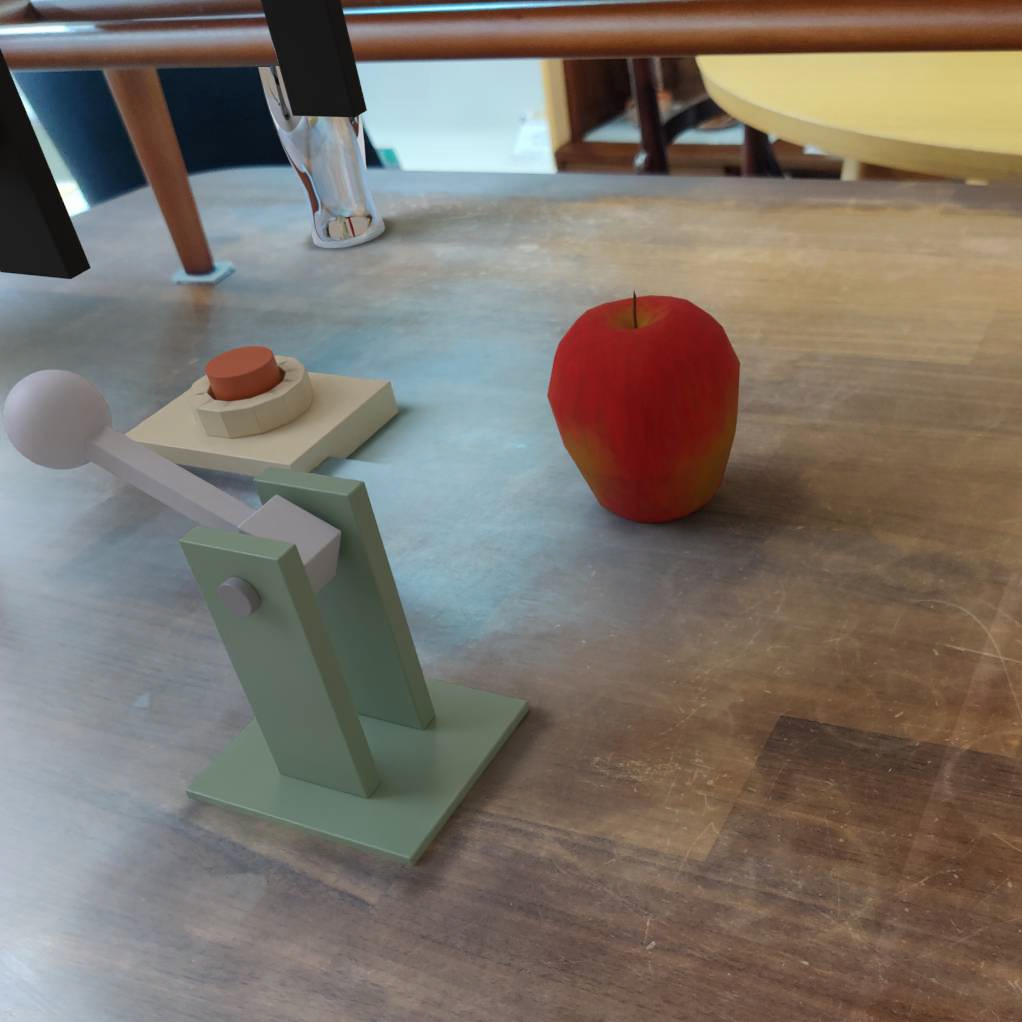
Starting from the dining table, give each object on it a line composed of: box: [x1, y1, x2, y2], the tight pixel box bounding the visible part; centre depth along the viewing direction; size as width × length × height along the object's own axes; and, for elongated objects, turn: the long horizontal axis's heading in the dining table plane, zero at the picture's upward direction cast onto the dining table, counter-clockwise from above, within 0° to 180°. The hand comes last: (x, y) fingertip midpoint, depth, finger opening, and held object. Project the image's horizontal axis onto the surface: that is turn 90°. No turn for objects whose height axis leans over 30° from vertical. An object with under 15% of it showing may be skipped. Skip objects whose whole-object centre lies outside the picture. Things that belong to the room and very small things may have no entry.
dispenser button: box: [204, 345, 282, 402], centre depth 71 cm, size 4×4×2 cm
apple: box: [546, 290, 741, 523], centre depth 59 cm, size 9×9×12 cm
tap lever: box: [2, 369, 341, 596], centre depth 43 cm, size 13×4×4 cm, turn 65°
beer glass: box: [257, 66, 386, 249], centre depth 96 cm, size 7×7×15 cm
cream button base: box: [123, 354, 399, 478], centre depth 72 cm, size 13×10×4 cm
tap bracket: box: [178, 467, 530, 867], centre depth 46 cm, size 11×9×13 cm
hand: (205, 183), depth 38 cm, fingers open, 13 cm apart
